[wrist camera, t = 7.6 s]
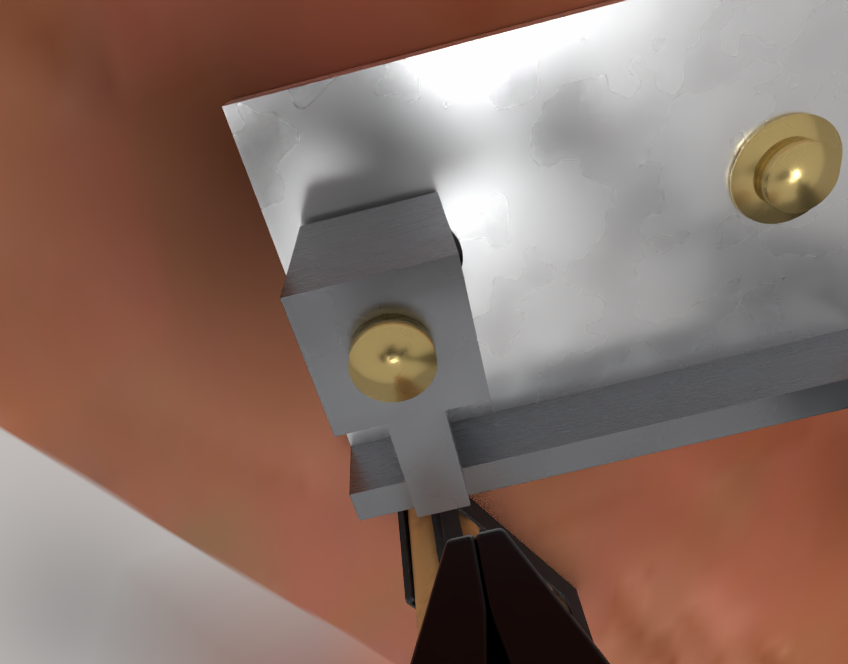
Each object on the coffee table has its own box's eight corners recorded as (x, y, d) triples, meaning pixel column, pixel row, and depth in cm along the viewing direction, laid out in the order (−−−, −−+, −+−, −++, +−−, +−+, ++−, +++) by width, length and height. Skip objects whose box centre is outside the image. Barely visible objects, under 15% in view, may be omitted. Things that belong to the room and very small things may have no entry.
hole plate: (888, -74, 16) (1006, -87, 13) (835, 340, 22) (906, 394, 20) (229, 100, 17) (200, 125, 14) (360, 452, 23) (359, 520, 20)
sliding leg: (437, 191, 17) (462, 265, 13) (488, 416, 21) (520, 533, 17) (300, 226, 17) (276, 310, 13) (376, 443, 21) (379, 565, 17)
